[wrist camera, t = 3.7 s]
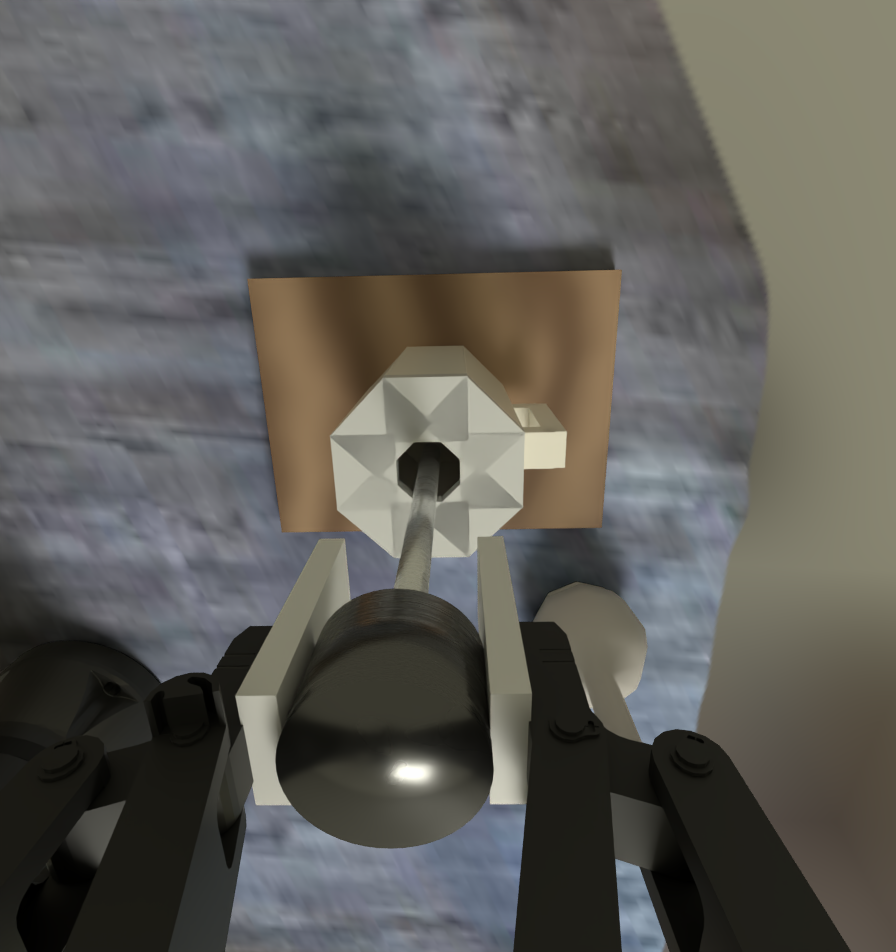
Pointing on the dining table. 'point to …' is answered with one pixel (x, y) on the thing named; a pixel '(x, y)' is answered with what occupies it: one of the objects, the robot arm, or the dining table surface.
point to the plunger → (392, 708)
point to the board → (437, 324)
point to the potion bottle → (601, 648)
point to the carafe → (461, 443)
